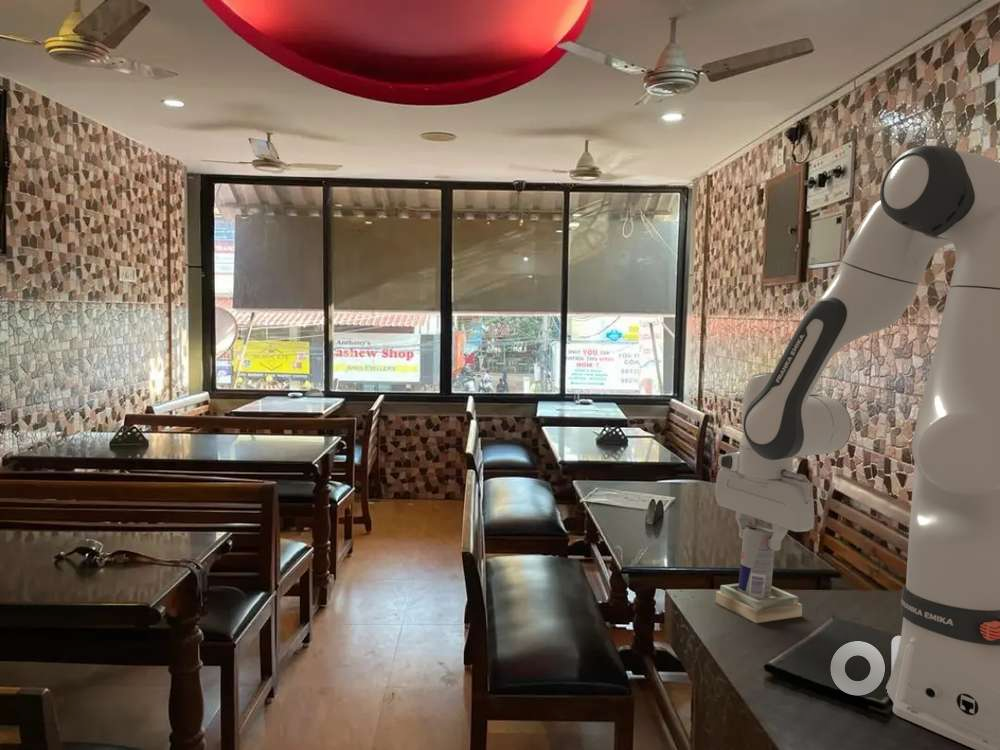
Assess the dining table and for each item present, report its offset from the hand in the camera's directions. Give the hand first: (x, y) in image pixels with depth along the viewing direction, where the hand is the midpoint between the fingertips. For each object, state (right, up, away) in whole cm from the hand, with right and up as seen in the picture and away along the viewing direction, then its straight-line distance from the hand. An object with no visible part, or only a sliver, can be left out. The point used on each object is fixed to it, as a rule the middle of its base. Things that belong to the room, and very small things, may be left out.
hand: (759, 543), depth 124 cm
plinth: (0, -11, 0) cm, 11 cm away
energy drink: (-1, -9, 0) cm, 10 cm away
